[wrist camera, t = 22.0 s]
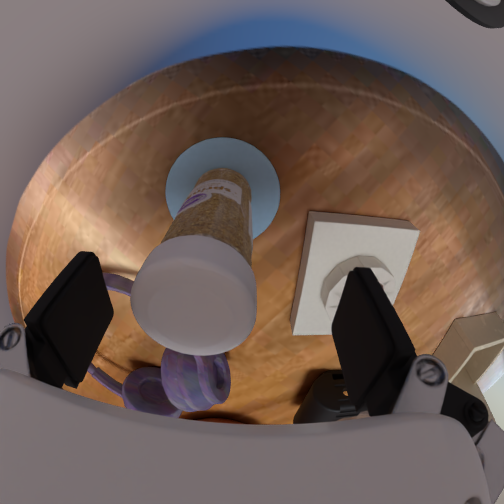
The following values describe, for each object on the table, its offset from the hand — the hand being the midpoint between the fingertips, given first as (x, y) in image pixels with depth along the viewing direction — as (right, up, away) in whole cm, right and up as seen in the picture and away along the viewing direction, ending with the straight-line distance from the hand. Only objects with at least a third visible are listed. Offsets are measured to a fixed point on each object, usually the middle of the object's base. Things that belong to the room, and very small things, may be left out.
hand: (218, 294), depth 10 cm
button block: (+10, -1, +15) cm, 18 cm away
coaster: (-1, +6, +11) cm, 13 cm away
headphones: (-12, -8, +19) cm, 24 cm away
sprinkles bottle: (-1, +6, +11) cm, 13 cm away
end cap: (+11, -18, +25) cm, 33 cm away
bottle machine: (+36, -14, +23) cm, 45 cm away
